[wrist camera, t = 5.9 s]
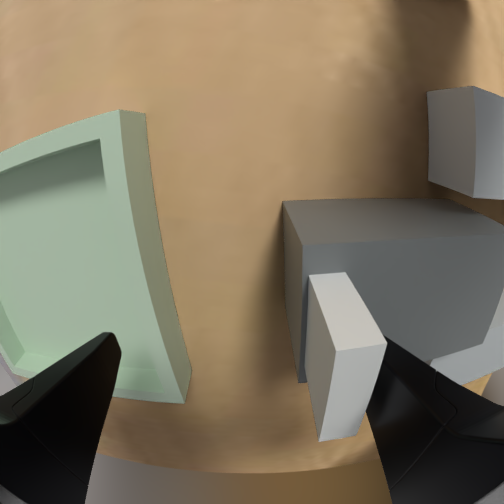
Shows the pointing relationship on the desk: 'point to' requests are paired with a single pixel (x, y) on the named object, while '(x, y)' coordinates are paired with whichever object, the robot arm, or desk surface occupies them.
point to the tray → (88, 256)
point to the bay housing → (469, 193)
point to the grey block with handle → (382, 291)
